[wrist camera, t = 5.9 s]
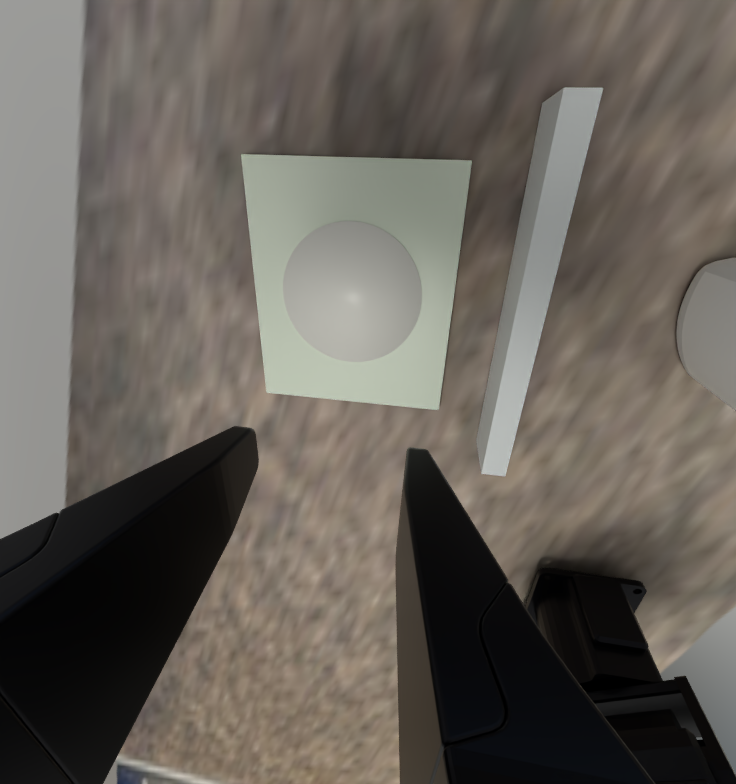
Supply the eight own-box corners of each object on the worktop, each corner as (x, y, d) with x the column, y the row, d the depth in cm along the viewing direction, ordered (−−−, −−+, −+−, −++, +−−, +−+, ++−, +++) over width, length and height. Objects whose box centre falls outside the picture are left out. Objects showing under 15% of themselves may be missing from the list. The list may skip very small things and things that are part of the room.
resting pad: (438, 406, 22) (438, 411, 22) (269, 389, 24) (266, 393, 23) (471, 160, 17) (472, 160, 16) (244, 154, 18) (240, 154, 17)
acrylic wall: (497, 442, 23) (505, 476, 20) (476, 440, 23) (481, 473, 20) (574, 103, 15) (603, 87, 13) (542, 102, 15) (564, 87, 13)
